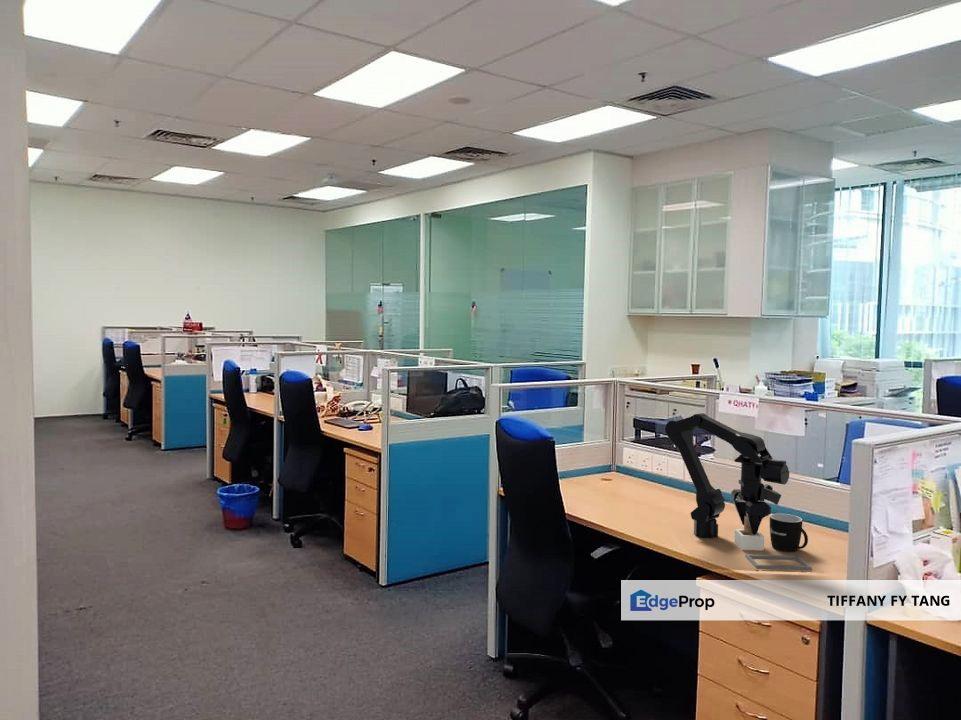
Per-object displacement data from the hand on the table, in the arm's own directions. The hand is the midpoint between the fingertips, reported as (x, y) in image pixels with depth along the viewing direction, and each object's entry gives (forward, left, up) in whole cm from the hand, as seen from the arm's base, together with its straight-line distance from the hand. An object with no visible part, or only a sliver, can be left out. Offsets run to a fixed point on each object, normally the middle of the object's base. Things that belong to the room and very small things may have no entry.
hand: (749, 529), depth 209 cm
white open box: (0, 0, -6) cm, 6 cm away
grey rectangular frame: (+4, -14, -6) cm, 16 cm away
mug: (+11, -2, -6) cm, 13 cm away
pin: (0, 0, -5) cm, 5 cm away
